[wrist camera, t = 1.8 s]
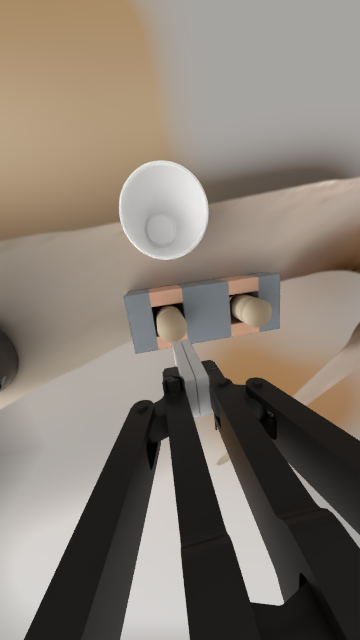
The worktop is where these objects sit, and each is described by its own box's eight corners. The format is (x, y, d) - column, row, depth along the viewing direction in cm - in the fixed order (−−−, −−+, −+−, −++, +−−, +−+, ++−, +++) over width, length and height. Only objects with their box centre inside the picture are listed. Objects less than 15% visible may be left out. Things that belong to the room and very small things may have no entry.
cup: (202, 229, 33) (226, 211, 22) (164, 274, 34) (169, 277, 23) (156, 181, 30) (160, 135, 20) (116, 232, 31) (98, 214, 21)
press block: (138, 340, 36) (135, 353, 31) (128, 291, 34) (123, 296, 28) (260, 319, 39) (279, 328, 33) (259, 272, 36) (280, 273, 31)
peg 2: (228, 319, 33) (245, 329, 27) (227, 295, 32) (244, 301, 26) (251, 315, 34) (271, 325, 28) (250, 292, 33) (271, 297, 27)
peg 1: (158, 330, 32) (159, 344, 26) (154, 306, 31) (154, 315, 25) (182, 326, 32) (189, 339, 27) (179, 303, 31) (185, 311, 26)
